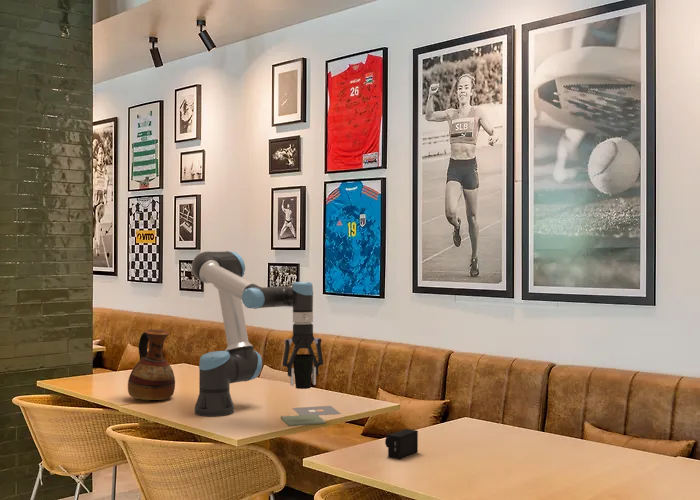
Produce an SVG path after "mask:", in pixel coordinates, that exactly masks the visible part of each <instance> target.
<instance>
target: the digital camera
mask: <svg viewBox="0 0 700 500" xmlns="http://www.w3.org/2000/svg"><path fill="white" fill-rule="evenodd" d="M418 436H419V433H418V430H415V429H409V428H405V429H401V430H398V431H395V432H393V433H391V432H389V433H388V434H386V437H385V439H384V440H385V441H384V442H385V446H386V448H387V457H388V458H390V459H395V460H402V459H405V458H407V457H410V456H413V455H415V454H418V452H419V451H418V447H419V445H418V444H419V443H418V442H419V440H418V439H419V437H418Z"/></svg>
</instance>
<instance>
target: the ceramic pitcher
mask: <svg viewBox="0 0 700 500" xmlns="http://www.w3.org/2000/svg"><path fill="white" fill-rule="evenodd" d="M169 335H170V331H167V330H164V329H153V328H150V329H147V330H146V329H145V331H144V332H143V333H142V334H141V336H140V339H139V342H138V354H139V361H138V362H137V364H135V366H134V367H133V368H132V370H131V372H130V374H129V377H128V380H127V392H128V394H129V395H128V396H130V397H132V398H133V399H135V400H138V399H141V400H140V401H143V400H159V401H164V400H167V399H169V398H171V397H173V395H174V392H175V389H176V388H175V387H176V379H175V378H176V377H175V374H174V371H173V368H172V366H171V365H170V363H169V362H168V360H166V359H165V357H164V356H163V355H164V354H163V348H164V343H165V341H166V338H168V336H169Z"/></svg>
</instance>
